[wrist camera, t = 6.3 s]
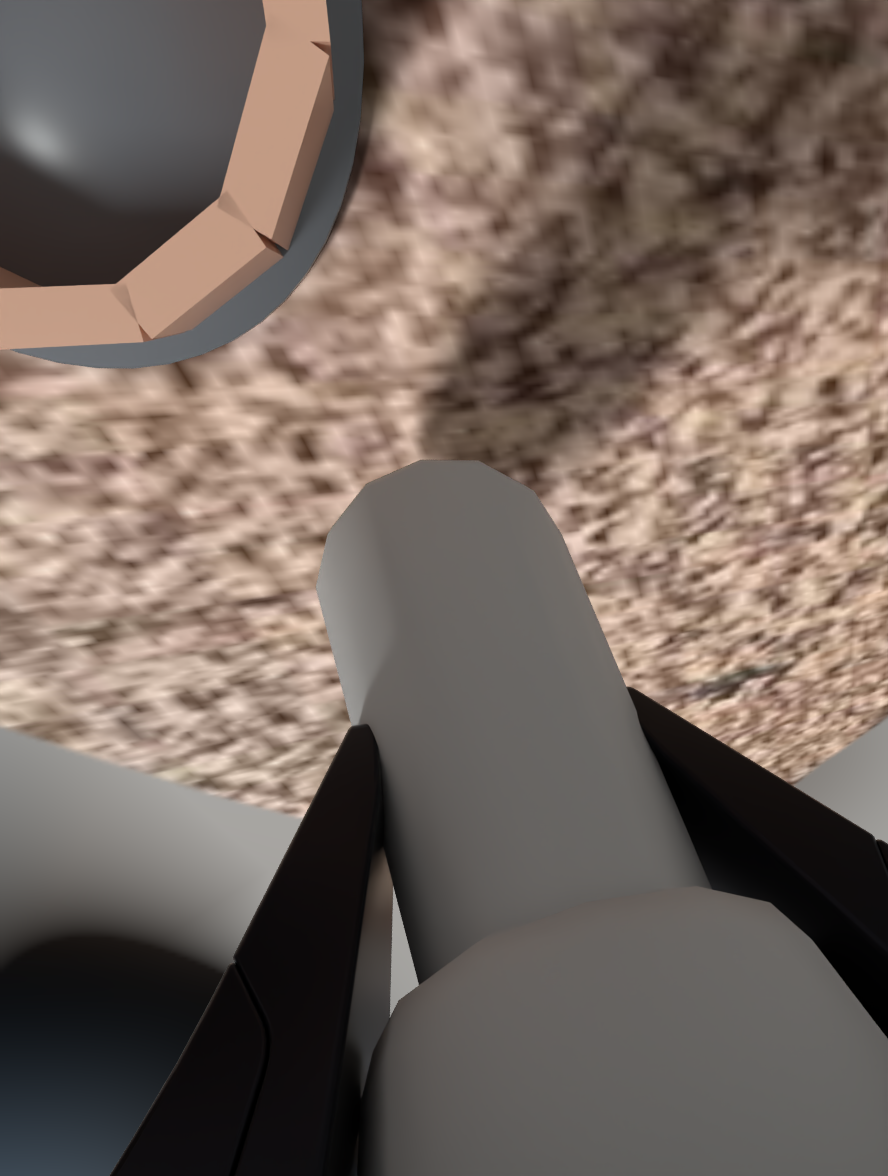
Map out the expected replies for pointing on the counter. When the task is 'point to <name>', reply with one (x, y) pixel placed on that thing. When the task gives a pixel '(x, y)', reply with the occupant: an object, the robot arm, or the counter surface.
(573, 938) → the salt shaker
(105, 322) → the socket
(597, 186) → the counter surface
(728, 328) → the counter surface
